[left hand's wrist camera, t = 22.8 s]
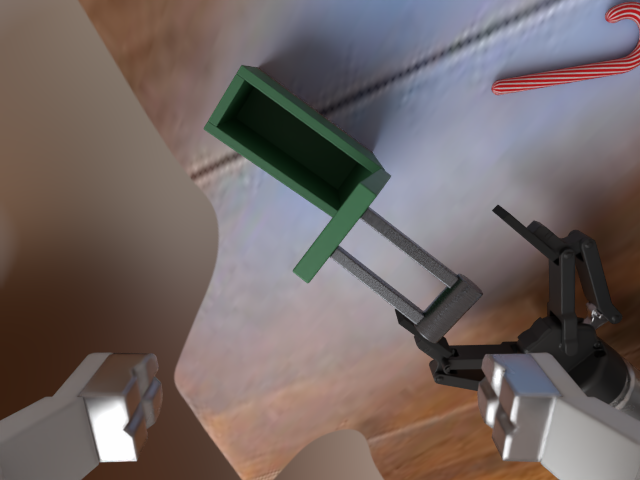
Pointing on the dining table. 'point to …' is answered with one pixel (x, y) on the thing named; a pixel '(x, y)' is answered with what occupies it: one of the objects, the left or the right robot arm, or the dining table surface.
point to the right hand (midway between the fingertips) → (446, 265)
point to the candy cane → (582, 72)
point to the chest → (290, 140)
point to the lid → (459, 287)
